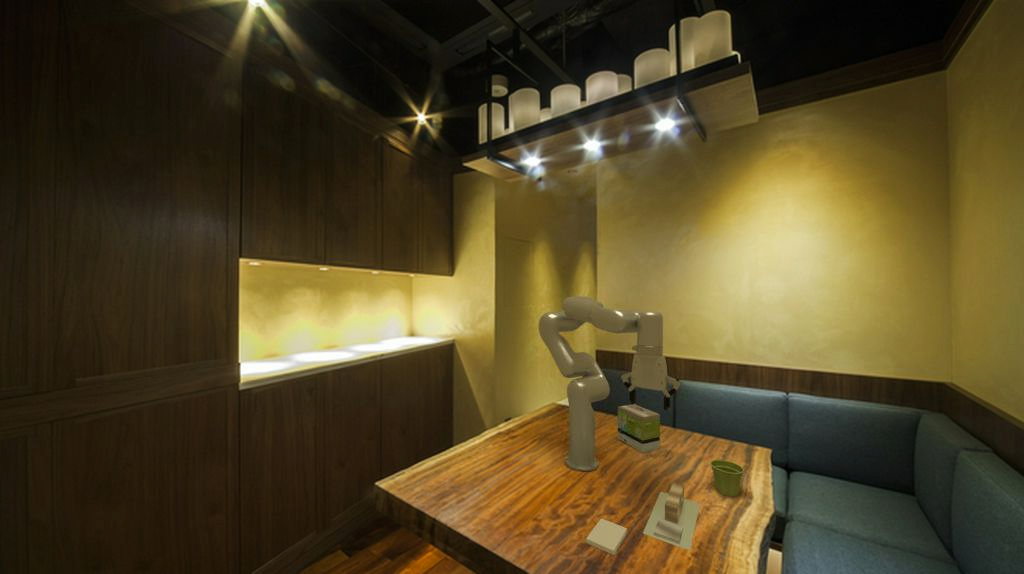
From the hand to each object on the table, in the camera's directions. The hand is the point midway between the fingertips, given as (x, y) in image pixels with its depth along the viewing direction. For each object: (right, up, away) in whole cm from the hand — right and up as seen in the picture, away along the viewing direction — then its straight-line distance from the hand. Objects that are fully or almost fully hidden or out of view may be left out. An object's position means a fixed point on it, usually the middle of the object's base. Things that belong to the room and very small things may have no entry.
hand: (649, 406), depth 109 cm
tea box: (+11, -30, +40) cm, 52 cm away
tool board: (+2, -28, -11) cm, 30 cm away
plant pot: (+26, -29, +3) cm, 39 cm away
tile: (-16, -27, -16) cm, 35 cm away
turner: (+2, -27, -12) cm, 30 cm away
